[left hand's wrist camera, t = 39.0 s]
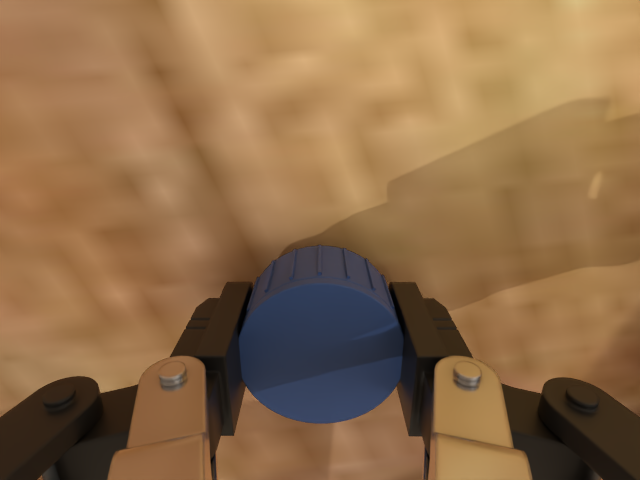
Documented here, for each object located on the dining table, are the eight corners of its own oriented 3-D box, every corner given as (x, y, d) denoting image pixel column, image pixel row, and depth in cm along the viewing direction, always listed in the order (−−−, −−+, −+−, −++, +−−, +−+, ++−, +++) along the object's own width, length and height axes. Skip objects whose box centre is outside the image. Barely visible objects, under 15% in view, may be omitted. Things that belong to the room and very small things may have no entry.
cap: (402, 247, 11) (421, 286, 9) (383, 371, 13) (396, 429, 11) (249, 238, 11) (233, 275, 9) (249, 364, 13) (235, 421, 11)
